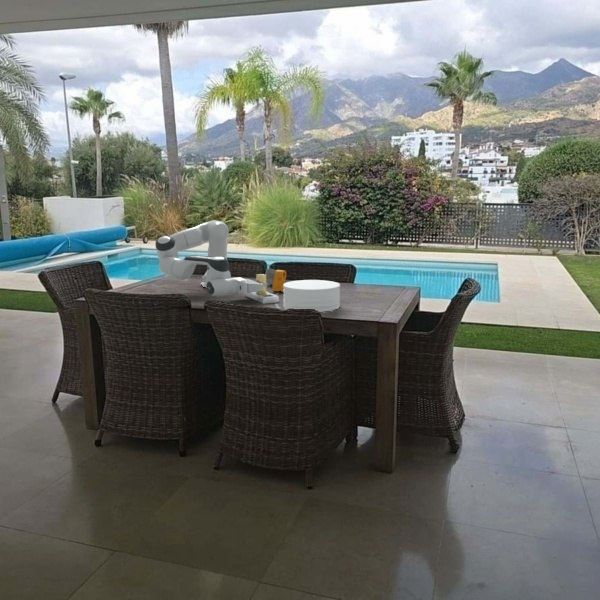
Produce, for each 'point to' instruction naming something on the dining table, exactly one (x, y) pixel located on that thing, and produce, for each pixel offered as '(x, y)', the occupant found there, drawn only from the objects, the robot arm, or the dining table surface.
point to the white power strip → (263, 297)
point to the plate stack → (311, 295)
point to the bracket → (279, 280)
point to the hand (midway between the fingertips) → (262, 283)
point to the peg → (261, 279)
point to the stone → (270, 276)
